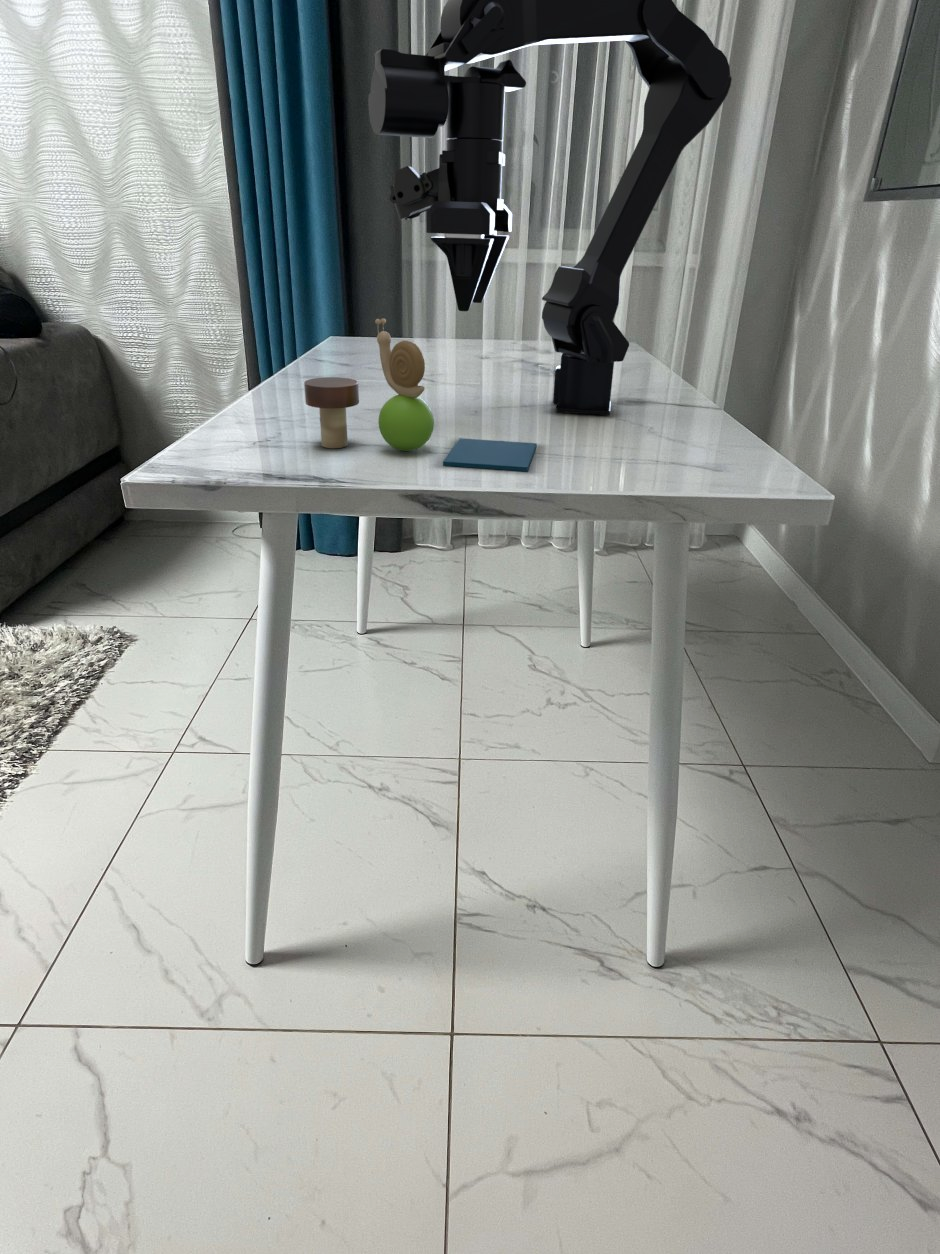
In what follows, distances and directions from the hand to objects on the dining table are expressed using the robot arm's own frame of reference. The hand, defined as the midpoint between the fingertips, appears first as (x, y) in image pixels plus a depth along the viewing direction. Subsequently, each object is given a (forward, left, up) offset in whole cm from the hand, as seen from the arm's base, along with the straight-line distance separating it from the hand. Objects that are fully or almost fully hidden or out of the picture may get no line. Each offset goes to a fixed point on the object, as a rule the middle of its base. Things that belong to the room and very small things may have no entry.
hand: (470, 306), depth 89 cm
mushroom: (+11, +16, -12) cm, 23 cm away
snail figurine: (+4, +16, -12) cm, 20 cm away
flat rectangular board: (-5, +16, -12) cm, 21 cm away
